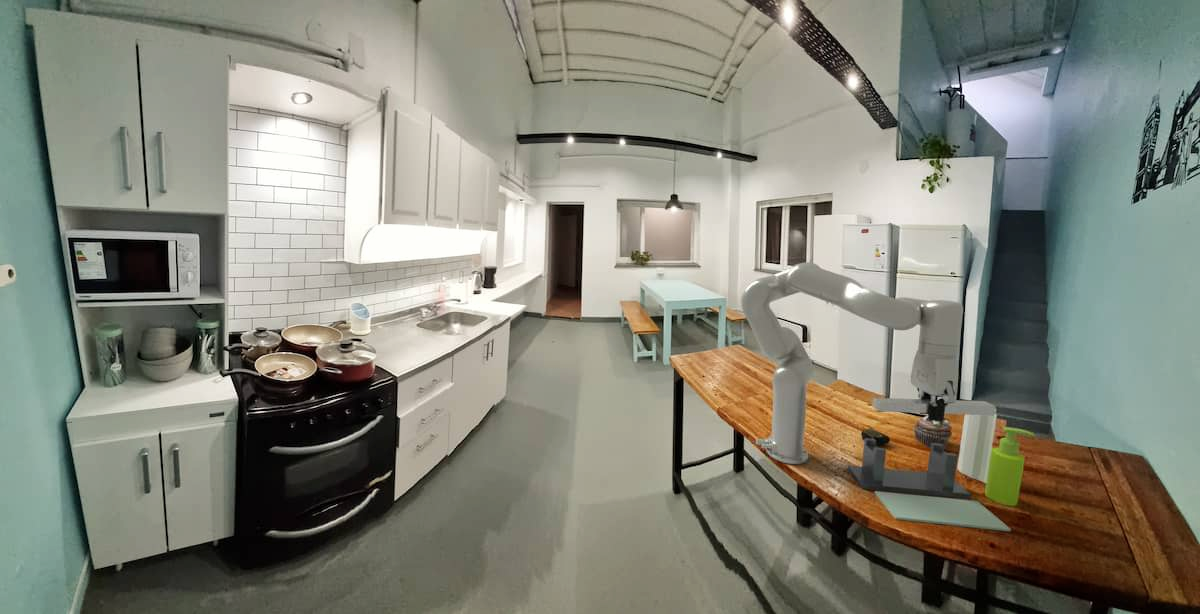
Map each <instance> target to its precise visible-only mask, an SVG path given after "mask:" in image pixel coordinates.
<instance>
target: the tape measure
mask: <svg viewBox="0 0 1200 614" xmlns="http://www.w3.org/2000/svg"><path fill="white" fill-rule="evenodd" d="M860 435H861V439H862V440H863V441H864V439H865V438H870V439H875V440H876V446H877V447H882V446H885V445H886V444H887V445H888V444H889V443H890V437H889V436H888V435H886V434H884V433H882V432H880V431H877V430H875V429H874V428H867V429H863V430H862V431H861V433H860Z"/></svg>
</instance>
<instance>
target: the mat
mask: <svg viewBox="0 0 1200 614" xmlns="http://www.w3.org/2000/svg"><path fill="white" fill-rule="evenodd" d="M874 494H875V495H876V497H877V498H878V500H879V501H880V502H881V503H882V504H883V506H884V507H885V508H886V510H888V511H887V512H889V513H890V514H891V516H892V517H893V518H894V519H895V520H901V521H908V522H909V521H910V522H911V521H912V522H918V523H919V522H921V523H929V524H937V525H947V526H954V527H955V526H958V527H964V528H965V527H966V528H973V529H975V528H976V529H984V530H994V531H1003V532H1011V530H1012V529H1011V528H1010V527H1009V526H1007V525H1006V524H1005V523H1004V522H1003V521H1002V520H1001V519H999V518H998V517H997V516H995V515H994V514H993V513H992V512H991V511H990V510H988V509H987V508H986V507H985V506H984V505H982V504H981V503H980V502H979V501H978V500H971V499H962V498H952V497H941V496H931V495H921V494H910V493H900V492H890V491H879V490H874Z"/></svg>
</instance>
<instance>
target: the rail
mask: <svg viewBox="0 0 1200 614" xmlns="http://www.w3.org/2000/svg"><path fill="white" fill-rule="evenodd" d="M929 405H932V400H928V399H920V398H892V397H891V398H890V397H888V398H887V397H873V399H872V407H873V408H874V409H875V410H877V411H878V412H886V413H887V412H888V413H889V412H892V413H895V412H896V413H916V414H917V413H918V414H920V413H929ZM995 409H996V406H995V405H994V404H992V403H990V402H987V401H985V400H984V401H983V400H982V401H981V400H956V399H955V403H949V404H948V405H947V407H945V412H944V415H964V416H965V415H992V416H994V414H995Z"/></svg>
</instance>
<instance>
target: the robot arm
mask: <svg viewBox="0 0 1200 614" xmlns="http://www.w3.org/2000/svg"><path fill="white" fill-rule="evenodd" d="M799 293H802V294H805V295H808V296H810V297H813V298H816V299H819V300H821V301H824V302H827V303H829V304H832V305H834V306H837V307H839V308H841V309H842V310H844V311H847V312H849V313H851V314H853V315H855V316H857V317H859V318H862V319H864V320H865V321H866V320H867V321H869V322H871V323H874V324H877V325H880V326H883V327H886V328H888V329H890V330H894V331H895V330H896V331H908V330H911V329H913V328H915V327H916V326H917V325H919V326H920V327H919V337H918V346H917V350H916V353H915V356H914V358H913V363H912V368H911V373H910V383H911V385H912V386H913V387H915V388H916V389H917V392H918V394H917V396H918V399H928V400H932V405H929V413H919V414H920V415H927V416H928V419H929V420H932V421H943V420H944V418H945V414H944V412H945V407H947V405H948V404H949V403H955V400H956V398H955V396H956V394H957V391H958V386H959V385H958V383H959V363H958V362H959V361H958V356H959V349H960V341H961V340H960V339H961V330H962V323H963V314H964V306H963V305H962V303H960V302H958V301H954V300H953V301H952V300H942V299H941V300H940V299H937V300H936V299H935V300H934V299H933V300H928V299H927V300H925V299H919V298H918V299H917V298H912V297H903V296H902V297H896V298H894V297H891V296H888V295H885V294H882V293H879V292H876V291H874V290H872V289H869V288H868V287H867V286H866V287H865V286H863V285H862V284H861V283H860V282H859V281H857V280H855V279H853V278H852V277H849V276H846V275H842V274H839V273H835V272H833V271H829V270H827V269H824V268H821V267H820V266H819V265H818V264H817V263H814V262H811V261H810V262H808V261H807V262H800V263H796V264H795V265H793V266H792V267H791V268H788V269H785V270H783V271H781V272H778V273H774V274H772V275H768V276H764V277H763V276H762V277H759V278H756V279H755V280H753V281H752V282H750V283H749V284H748V286H746V288H745V289H744V291H743V293H742V295H741V301H740V302H741V309H742V312H743V314H744V317H745V319H746V320H747V322H748V324H749V326H750V328H751V330H752V333H753V334H754V337H755V339H756V341H757V343H758V345H759V347H760V349H761V351H762V353H763V355H764V356H765V357H766V358H768V359H769V360H771V361H772V360H773V361H778V363H779V365H778V366H777V367H776V368H775V370H774V372H773V375H772V381H771V382H772V393H773V394H772V395H773V397H772V399H773V400H772V418H771V419H772V420H771V423H772V424H771V435H769V436H768V438H763V439H762V438H756V439H755V445H758V446H760V445H761V448H762V449H765V451H766V453H767V454H768V456H769V457H771V458H772V459H774V460H776V461H778V462H781V463H785V464H788V465H802V464H804V463H806V462H808V460H809V453H808V451H807V450H806V449H805V448H804V443H805V429H806V427H805V425H806V414H807V413H806V411H807V385H808V384H809V382H810V381H811V380H812V378H813V376H814V374H815V373H814V372H815V368H814V365H813V363H812V360H811V358H810V356H809V355H808V352H807V351H806V348H805V347H804V345H803V342H802V341H801V339H800V337H799V336H798V334H797V333H796V331H794V330H792V329H791V328H789V327H786V326H781V324H780V322H779V320H778V318H777V315H776V314H775V313H774V312H773V310H772V309H771V307H770V304H771V303H772V302H774V301H777V300H778V301H779V300H780V299H783V298H786V297H790V296H793V295H795V294H799ZM938 398H939V399H938Z"/></svg>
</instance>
